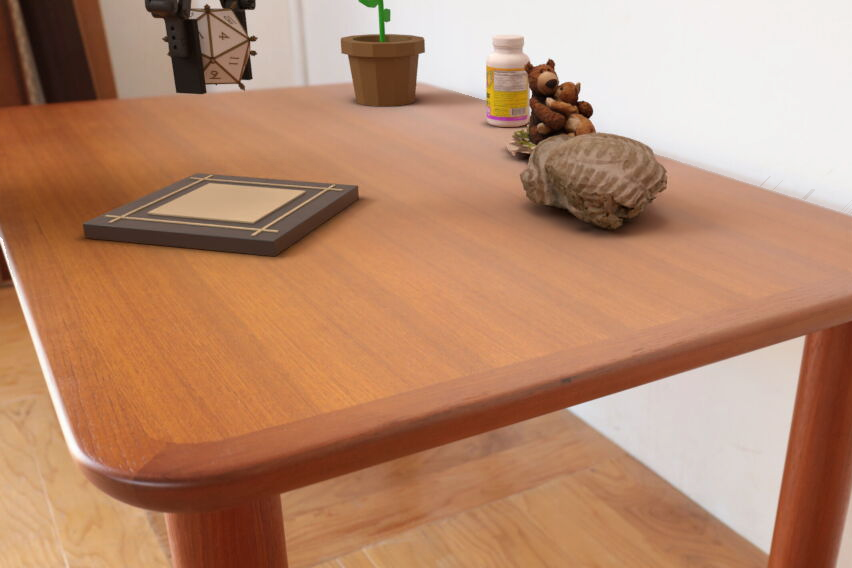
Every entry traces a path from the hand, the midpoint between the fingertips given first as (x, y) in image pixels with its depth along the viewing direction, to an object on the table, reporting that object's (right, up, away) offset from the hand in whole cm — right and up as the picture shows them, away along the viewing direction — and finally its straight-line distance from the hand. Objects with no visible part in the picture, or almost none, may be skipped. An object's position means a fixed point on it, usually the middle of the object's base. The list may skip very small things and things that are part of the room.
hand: (216, 85), depth 87 cm
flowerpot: (+7, +17, +68) cm, 70 cm away
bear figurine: (+35, 0, +32) cm, 48 cm away
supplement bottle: (+28, +9, +51) cm, 59 cm away
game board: (0, -12, +6) cm, 13 cm away
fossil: (+37, -11, +9) cm, 40 cm away
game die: (0, -1, 0) cm, 1 cm away
